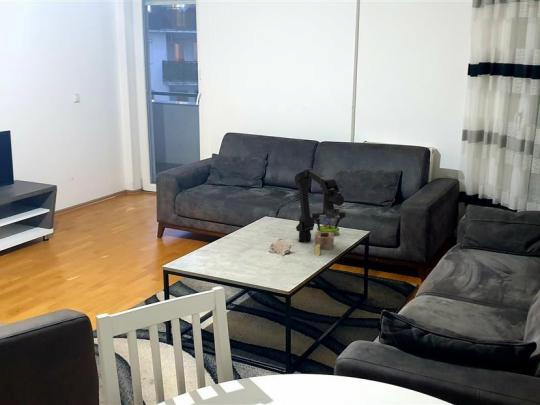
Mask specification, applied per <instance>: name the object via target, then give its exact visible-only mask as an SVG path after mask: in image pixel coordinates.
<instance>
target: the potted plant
mask: <svg viewBox="0 0 540 405" xmlns="http://www.w3.org/2000/svg"><path fill="white" fill-rule="evenodd" d="M326 219H327V220H326ZM322 220H323V221H322V222H323V223H325V224H323V225H320V230H319V229H318V227H317V228H316V229H317V230H316V231H317V232H331V233H334V234H335V233H338V232H339V231H340V228H339V227H338V226H337V228H336V229H335V225H331V223H332V222H331V221H333V222H334V219H333V218H330V219H328V218H327V217H326V216H323V219H322Z"/></svg>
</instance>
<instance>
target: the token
mask: <svg viewBox="0 0 540 405" xmlns="http://www.w3.org/2000/svg"><path fill="white" fill-rule="evenodd" d="M316 255H319V256H320V255H321V249H320V244H316V245H315V244H314V256H316Z"/></svg>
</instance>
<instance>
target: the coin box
mask: <svg viewBox="0 0 540 405" xmlns="http://www.w3.org/2000/svg"><path fill="white" fill-rule="evenodd" d="M334 236H335V233H331V232H319V231H316V232H315V235H314V246H315V245H316V244H320V250H324V249H332V250H331V251H334V245H333V244H335V243H334V242H335V240H334V238H335V237H334Z"/></svg>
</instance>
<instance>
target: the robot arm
mask: <svg viewBox="0 0 540 405" xmlns="http://www.w3.org/2000/svg"><path fill="white" fill-rule="evenodd" d="M311 180H313V181H314V182H316V183H317V184H319V187H320V188H321V190H320V193H322V210H321V211H322V212H318V210H311V211H310V200H309V186H310V184H311ZM294 181H295V182H294V184H295V186H296V187H297V189H298V192H299V203H300V213H301V214H300V217H299V219H298V220H299V222H298V224H297V225H296V226H295V229H296V230H295V231H296V232H298V243H310V242H311V241H312V232H311V231H313V230H314V227H315V224H316V226H317V228H318V229H319V230H320V226H321V224H320V223H321V222H320V221H321V219H320V217H327V218H326V219H327V220H328V219H330V218H331V219H334V226H335V229H336V228H337V227H338V226H339V223H340V221H341V220H342V219H344V218H346V217H347V216H346V215H347V214H346V212H345V211H344V210H343V209H339V208H335V206H338V207H341V206H342V205H343V204H344V202H345V197H344V196H343V195H342V192H340V188H339V186H338V184H337V181H336V179H335V178H333V177H327V176H325V175H323V174H321V173H320V172H318V171H317V170H315V169H314V168H306V169H304V170H302V171H301V172H299V173H297V174H296V175H295V176H294ZM331 219H330V220H331Z"/></svg>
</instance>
